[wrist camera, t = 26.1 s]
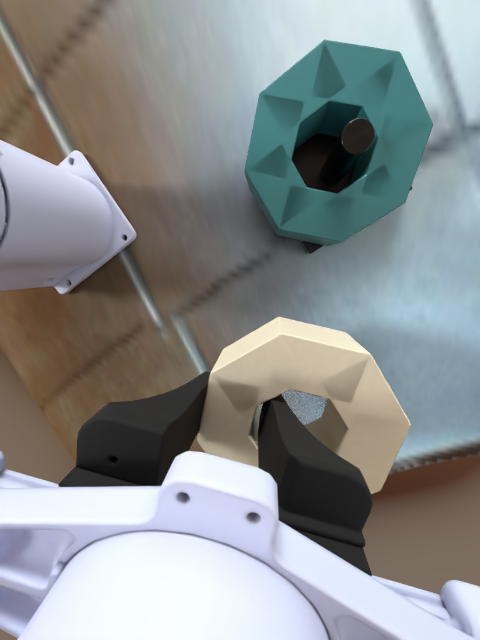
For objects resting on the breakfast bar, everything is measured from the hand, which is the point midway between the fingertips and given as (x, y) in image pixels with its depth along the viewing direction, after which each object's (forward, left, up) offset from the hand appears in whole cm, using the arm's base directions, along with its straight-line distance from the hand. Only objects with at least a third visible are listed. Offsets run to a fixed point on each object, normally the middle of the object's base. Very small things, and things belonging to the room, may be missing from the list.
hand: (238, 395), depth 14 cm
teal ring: (+12, +9, -7) cm, 16 cm away
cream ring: (+2, -2, -1) cm, 3 cm away
